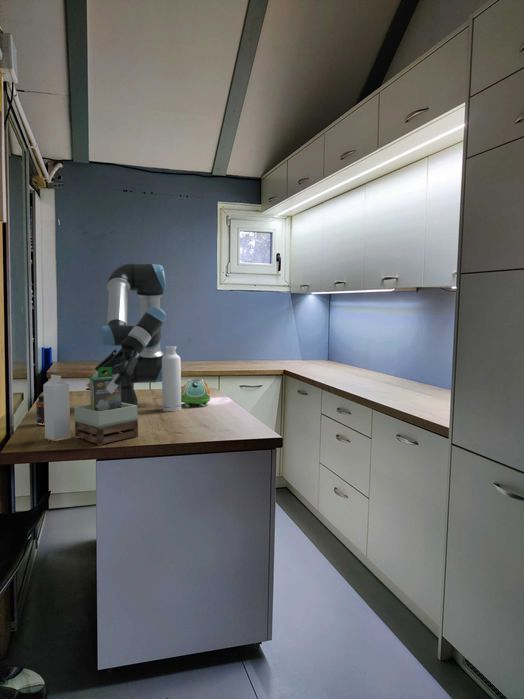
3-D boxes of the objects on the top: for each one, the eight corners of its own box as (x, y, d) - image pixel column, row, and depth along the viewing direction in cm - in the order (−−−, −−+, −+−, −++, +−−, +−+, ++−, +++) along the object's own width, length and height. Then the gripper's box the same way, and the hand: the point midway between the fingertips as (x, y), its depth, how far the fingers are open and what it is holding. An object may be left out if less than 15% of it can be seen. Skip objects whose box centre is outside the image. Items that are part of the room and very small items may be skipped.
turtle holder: (172, 403, 239) (171, 378, 238) (210, 402, 240) (210, 377, 239) (169, 408, 226) (169, 381, 225) (210, 407, 228) (210, 381, 227)
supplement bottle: (57, 423, 196) (56, 394, 195) (46, 426, 191) (44, 397, 190) (44, 422, 198) (43, 393, 197) (33, 425, 193) (32, 396, 192)
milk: (60, 436, 176) (59, 373, 175) (70, 438, 173) (69, 374, 171) (44, 439, 171) (42, 375, 170) (54, 442, 168) (52, 376, 166)
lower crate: (75, 438, 173) (74, 420, 173) (113, 430, 185) (113, 414, 184) (99, 445, 164) (99, 427, 163) (138, 436, 175) (137, 419, 174)
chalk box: (116, 406, 179) (115, 364, 178) (122, 410, 171) (121, 367, 170) (89, 408, 175) (88, 366, 174) (94, 413, 167) (92, 369, 166)
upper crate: (74, 420, 173) (74, 406, 172) (113, 414, 184) (112, 400, 184) (99, 427, 163) (98, 412, 163) (137, 419, 174) (137, 405, 174)
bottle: (162, 408, 226) (161, 346, 224) (180, 407, 227) (179, 345, 225) (162, 411, 218) (161, 347, 216) (181, 411, 219) (180, 347, 217)
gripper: (162, 350, 176) (126, 400, 165) (123, 347, 191) (87, 392, 180) (150, 335, 171) (111, 385, 161) (110, 333, 187) (72, 379, 176)
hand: (98, 389), depth 170 cm, fingers closed on chalk box, 11 cm apart
